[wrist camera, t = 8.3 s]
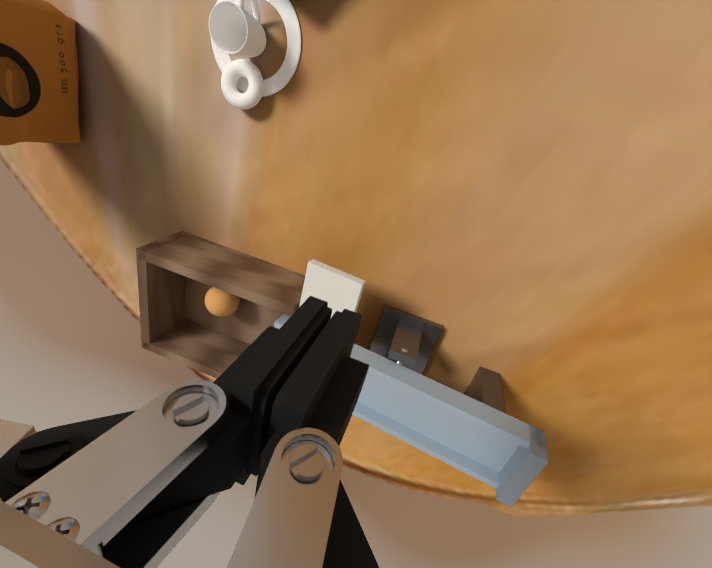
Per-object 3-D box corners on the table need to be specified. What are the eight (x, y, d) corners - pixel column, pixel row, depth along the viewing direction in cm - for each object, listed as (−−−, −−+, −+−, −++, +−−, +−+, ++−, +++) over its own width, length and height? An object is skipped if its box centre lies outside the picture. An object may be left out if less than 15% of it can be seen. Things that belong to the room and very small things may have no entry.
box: (318, 280, 35) (293, 307, 30) (298, 366, 41) (275, 402, 35) (181, 231, 37) (136, 248, 32) (180, 319, 43) (141, 347, 37)
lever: (588, 373, 24) (598, 401, 22) (509, 475, 30) (510, 507, 28) (297, 252, 30) (278, 263, 27) (277, 359, 35) (260, 376, 33)
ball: (203, 293, 34) (207, 276, 37) (201, 322, 35) (206, 303, 38) (240, 297, 35) (241, 279, 38) (237, 324, 37) (239, 305, 39)
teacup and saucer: (256, 124, 31) (230, 124, 27) (193, 48, 29) (156, 37, 26) (323, 43, 27) (302, 30, 23) (253, -50, 26) (220, -78, 22)
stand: (513, 350, 33) (523, 392, 28) (471, 420, 37) (473, 466, 32) (385, 304, 34) (372, 335, 29) (359, 376, 39) (345, 414, 34)
